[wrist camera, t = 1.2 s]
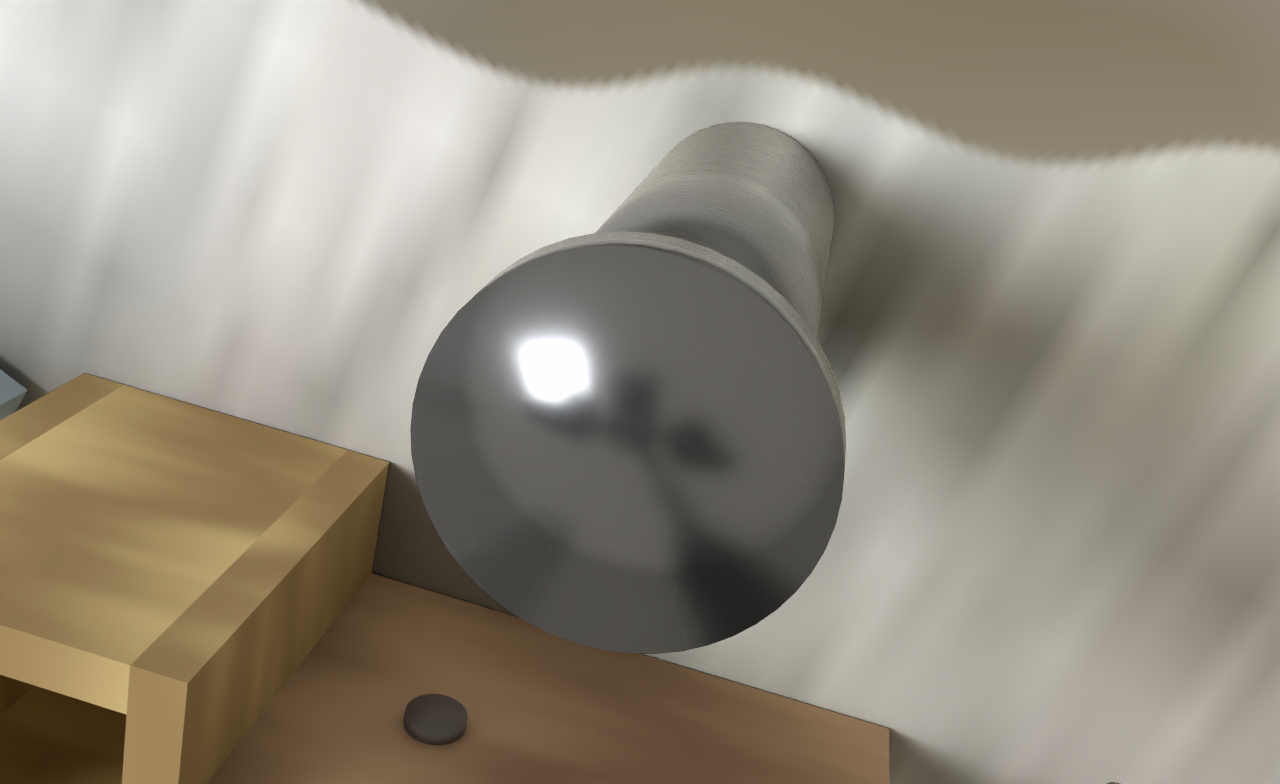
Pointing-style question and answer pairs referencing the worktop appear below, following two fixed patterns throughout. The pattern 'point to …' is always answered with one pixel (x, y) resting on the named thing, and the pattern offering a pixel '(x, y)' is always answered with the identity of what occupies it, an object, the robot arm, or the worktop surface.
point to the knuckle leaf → (312, 633)
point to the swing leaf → (9, 395)
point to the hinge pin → (648, 408)
